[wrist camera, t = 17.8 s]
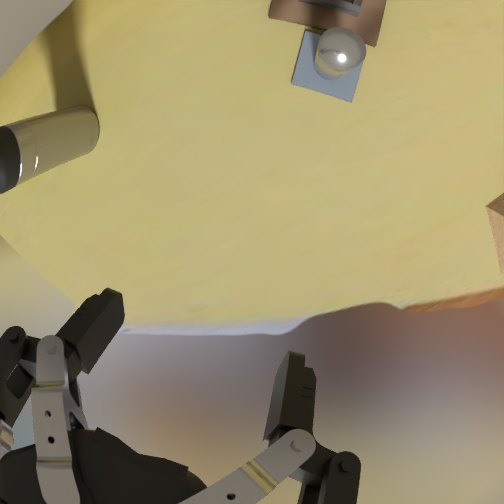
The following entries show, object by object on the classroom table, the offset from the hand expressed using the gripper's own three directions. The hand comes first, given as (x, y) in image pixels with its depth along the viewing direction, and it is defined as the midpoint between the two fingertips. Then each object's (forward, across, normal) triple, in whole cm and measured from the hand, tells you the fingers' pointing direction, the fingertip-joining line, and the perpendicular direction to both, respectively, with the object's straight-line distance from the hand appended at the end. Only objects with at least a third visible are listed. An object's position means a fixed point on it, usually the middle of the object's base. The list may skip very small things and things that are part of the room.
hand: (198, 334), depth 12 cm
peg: (+30, -3, -16) cm, 34 cm away
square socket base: (+30, -1, -28) cm, 41 cm away
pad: (+30, -3, -16) cm, 34 cm away
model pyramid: (+31, -45, -9) cm, 55 cm away
